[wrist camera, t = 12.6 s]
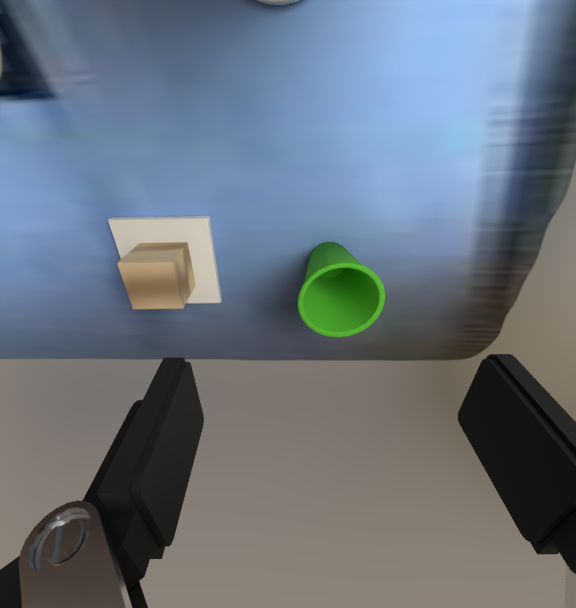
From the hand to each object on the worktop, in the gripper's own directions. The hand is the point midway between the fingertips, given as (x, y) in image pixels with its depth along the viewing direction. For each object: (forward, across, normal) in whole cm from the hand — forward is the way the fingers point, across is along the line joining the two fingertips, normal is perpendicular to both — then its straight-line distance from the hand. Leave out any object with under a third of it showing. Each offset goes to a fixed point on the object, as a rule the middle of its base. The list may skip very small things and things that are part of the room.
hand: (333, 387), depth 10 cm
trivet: (+30, +17, +9) cm, 36 cm away
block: (+29, +17, +9) cm, 35 cm away
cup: (+31, -4, +9) cm, 32 cm away
